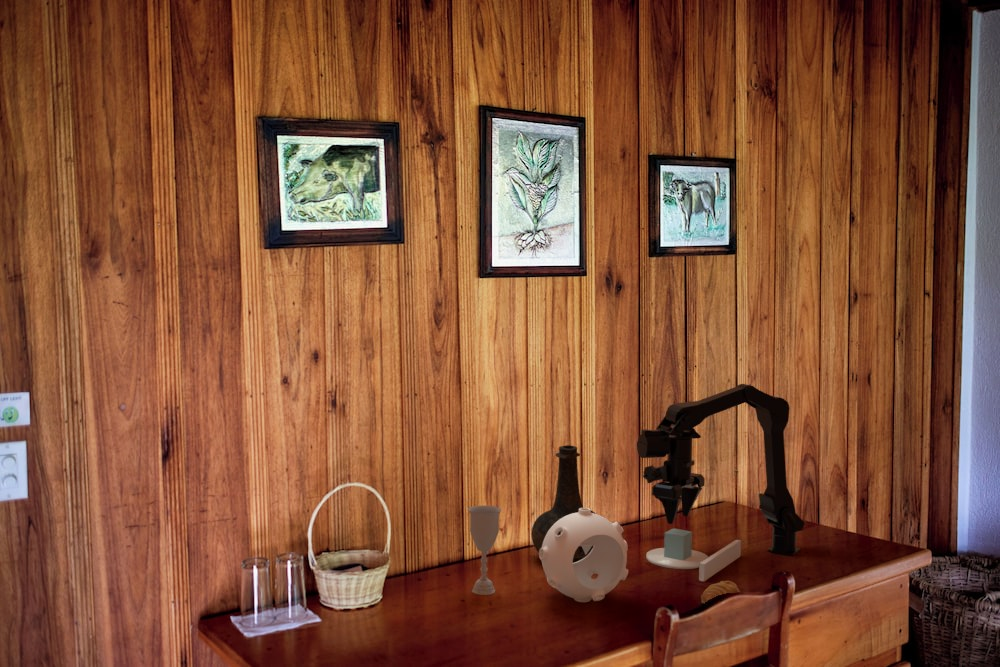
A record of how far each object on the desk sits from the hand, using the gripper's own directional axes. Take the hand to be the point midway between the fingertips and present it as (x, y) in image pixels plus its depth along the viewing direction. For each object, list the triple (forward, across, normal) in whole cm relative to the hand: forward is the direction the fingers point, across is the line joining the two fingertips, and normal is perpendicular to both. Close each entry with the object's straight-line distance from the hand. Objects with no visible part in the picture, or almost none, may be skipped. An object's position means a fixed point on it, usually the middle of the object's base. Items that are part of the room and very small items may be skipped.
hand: (677, 519), depth 229 cm
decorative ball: (+10, +39, -5) cm, 41 cm away
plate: (+10, 0, 0) cm, 10 cm away
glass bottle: (+10, +17, -21) cm, 29 cm away
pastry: (+10, +22, +19) cm, 31 cm away
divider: (+10, 0, +11) cm, 15 cm away
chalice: (+10, +47, -25) cm, 54 cm away
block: (+9, 0, 0) cm, 9 cm away
